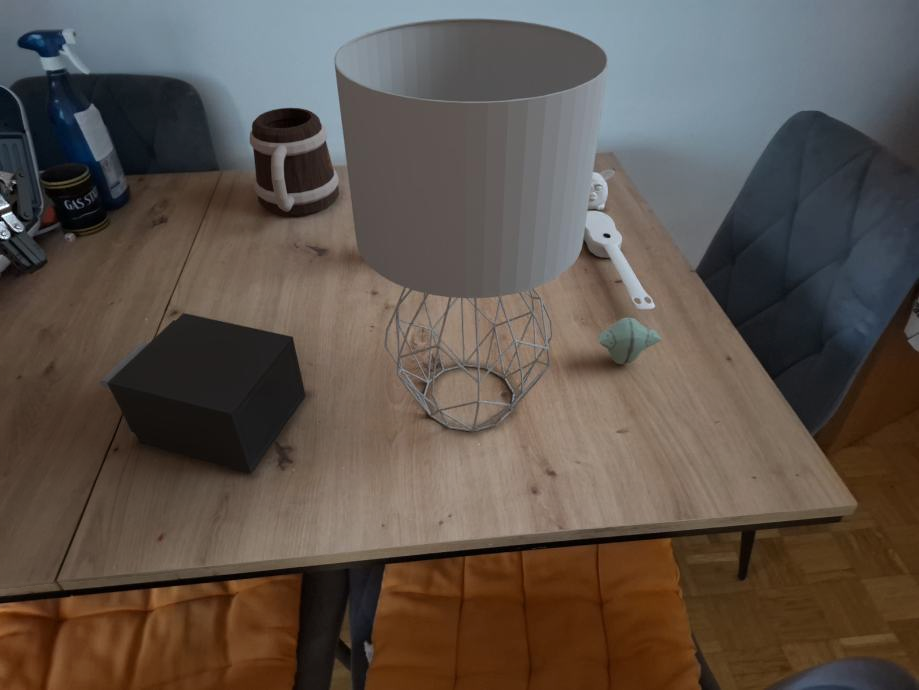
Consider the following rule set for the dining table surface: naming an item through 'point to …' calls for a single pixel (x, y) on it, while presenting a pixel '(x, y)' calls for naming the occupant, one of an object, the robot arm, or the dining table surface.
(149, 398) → the cabinet
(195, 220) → the dining table surface
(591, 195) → the figurine
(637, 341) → the green spinning top
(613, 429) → the dining table surface
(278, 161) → the mug
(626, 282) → the white toy ukulele
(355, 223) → the table lamp
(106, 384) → the drawer
